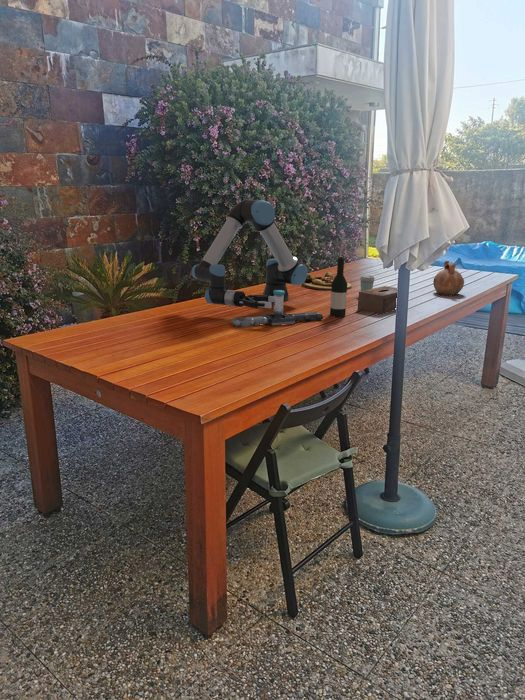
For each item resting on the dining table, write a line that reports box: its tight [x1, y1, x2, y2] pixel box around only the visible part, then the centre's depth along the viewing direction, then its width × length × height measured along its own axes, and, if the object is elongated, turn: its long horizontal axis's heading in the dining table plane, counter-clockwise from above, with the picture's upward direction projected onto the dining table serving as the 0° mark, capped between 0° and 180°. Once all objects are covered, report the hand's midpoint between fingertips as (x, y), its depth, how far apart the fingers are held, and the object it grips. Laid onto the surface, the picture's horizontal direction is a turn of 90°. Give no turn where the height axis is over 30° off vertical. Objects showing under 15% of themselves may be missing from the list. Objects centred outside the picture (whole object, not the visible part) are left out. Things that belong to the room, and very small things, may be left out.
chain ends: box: [230, 311, 324, 328], centre depth 270 cm, size 12×46×3 cm, turn 114°
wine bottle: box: [329, 255, 348, 318], centre depth 283 cm, size 8×8×30 cm
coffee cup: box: [359, 274, 375, 291], centre depth 334 cm, size 8×9×12 cm
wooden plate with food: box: [301, 271, 352, 291], centre depth 364 cm, size 32×32×8 cm
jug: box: [432, 260, 465, 297], centre depth 346 cm, size 18×18×20 cm
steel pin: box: [273, 290, 285, 318], centre depth 268 cm, size 5×5×15 cm
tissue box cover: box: [357, 285, 398, 315], centre depth 304 cm, size 26×14×10 cm, turn 136°
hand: (276, 302), depth 268 cm, fingers open, 13 cm apart
